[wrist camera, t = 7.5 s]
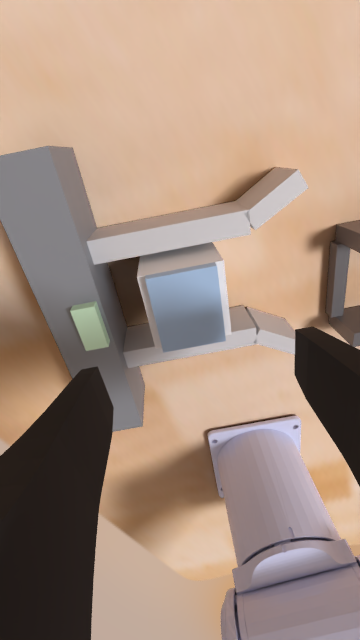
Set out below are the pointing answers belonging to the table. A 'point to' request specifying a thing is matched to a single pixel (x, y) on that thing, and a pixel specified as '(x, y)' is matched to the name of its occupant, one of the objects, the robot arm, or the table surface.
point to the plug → (185, 296)
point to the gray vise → (343, 283)
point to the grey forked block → (115, 244)
